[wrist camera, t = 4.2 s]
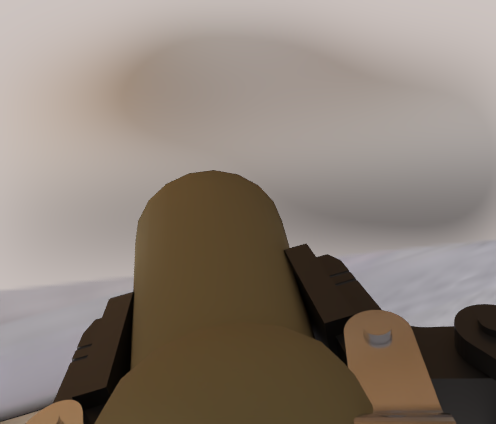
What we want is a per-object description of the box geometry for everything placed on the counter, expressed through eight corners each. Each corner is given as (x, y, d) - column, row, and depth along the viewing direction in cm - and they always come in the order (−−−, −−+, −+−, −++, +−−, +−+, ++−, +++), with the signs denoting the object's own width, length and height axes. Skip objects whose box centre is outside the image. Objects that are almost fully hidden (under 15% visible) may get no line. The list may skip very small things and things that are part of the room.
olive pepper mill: (138, 307, 15) (21, 802, 5) (131, 168, 13) (-112, 511, 3) (277, 301, 16) (430, 703, 6) (290, 172, 14) (573, 432, 4)
